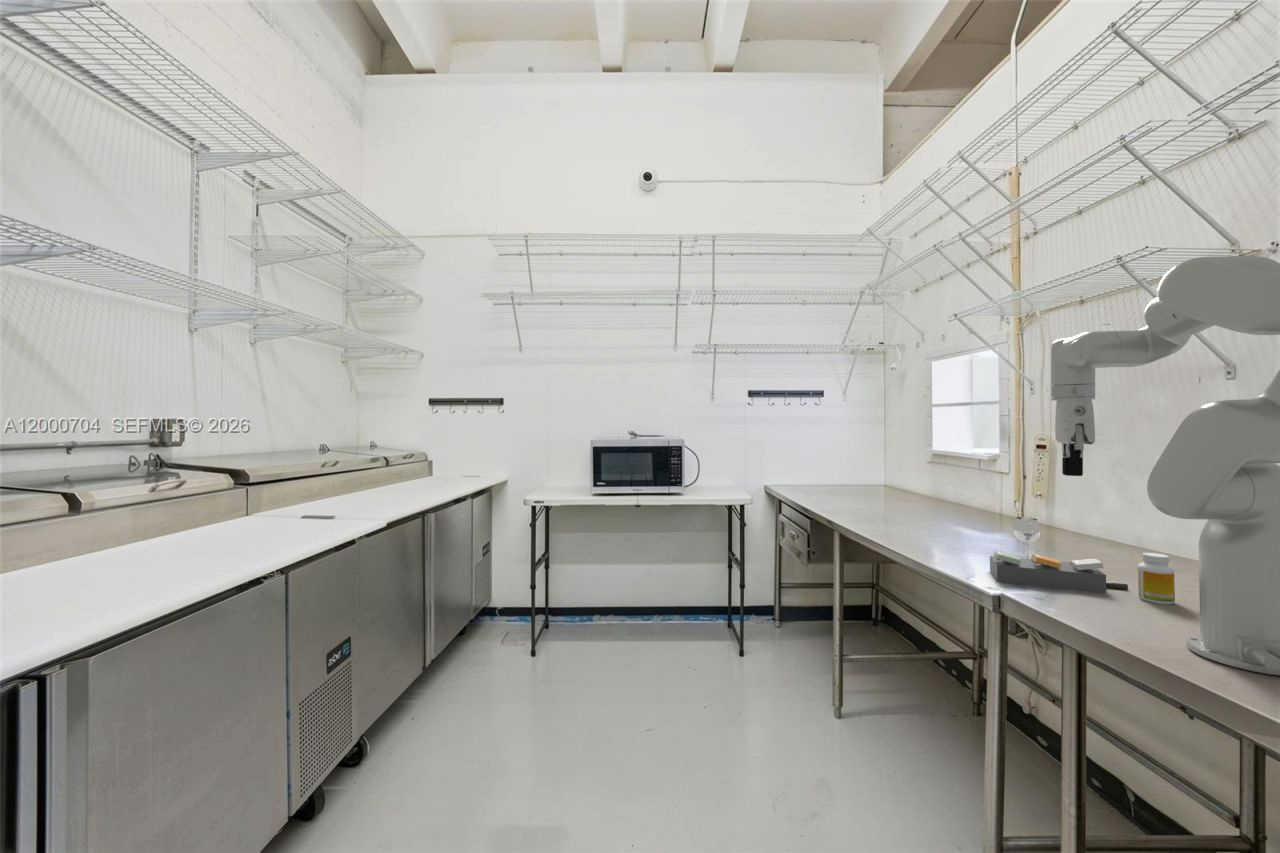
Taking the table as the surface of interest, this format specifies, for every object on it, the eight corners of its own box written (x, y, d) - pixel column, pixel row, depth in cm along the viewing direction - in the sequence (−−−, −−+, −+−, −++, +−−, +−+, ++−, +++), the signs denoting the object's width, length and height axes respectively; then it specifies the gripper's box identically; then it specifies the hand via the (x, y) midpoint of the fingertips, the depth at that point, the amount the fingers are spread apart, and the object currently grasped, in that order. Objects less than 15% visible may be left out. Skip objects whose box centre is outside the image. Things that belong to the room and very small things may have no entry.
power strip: (1136, 596, 109) (1136, 575, 109) (997, 581, 120) (996, 563, 120) (1118, 583, 118) (1117, 564, 118) (990, 571, 129) (989, 554, 129)
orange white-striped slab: (1059, 568, 116) (1061, 563, 116) (1035, 562, 118) (1036, 557, 118) (1054, 564, 120) (1056, 559, 119) (1031, 558, 122) (1032, 553, 121)
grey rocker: (1103, 568, 112) (1101, 562, 113) (1077, 570, 114) (1076, 564, 115) (1097, 563, 116) (1095, 558, 116) (1072, 565, 118) (1070, 560, 118)
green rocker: (1019, 564, 119) (1021, 559, 119) (996, 558, 121) (997, 553, 121) (1016, 560, 123) (1017, 555, 123) (993, 555, 125) (994, 550, 125)
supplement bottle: (1182, 605, 103) (1181, 558, 103) (1151, 604, 104) (1150, 557, 104) (1161, 597, 108) (1160, 552, 108) (1131, 595, 109) (1130, 551, 110)
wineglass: (1017, 558, 141) (1016, 516, 141) (1043, 562, 137) (1042, 518, 137) (1011, 562, 138) (1010, 518, 138) (1037, 566, 133) (1036, 521, 133)
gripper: (1107, 391, 104) (1106, 480, 104) (1083, 394, 117) (1083, 472, 117) (1060, 392, 107) (1060, 478, 108) (1043, 395, 120) (1042, 471, 121)
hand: (1072, 475), depth 112 cm, fingers closed
